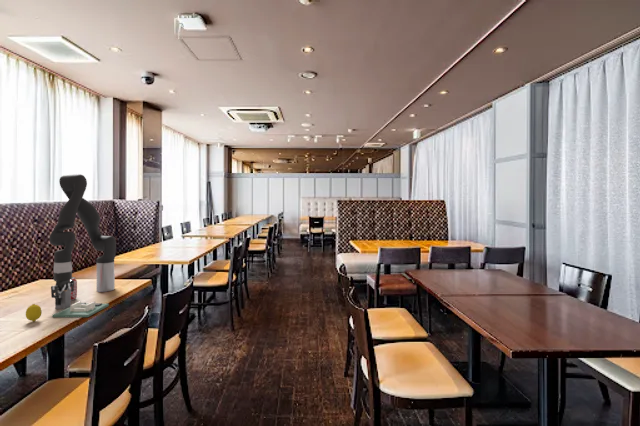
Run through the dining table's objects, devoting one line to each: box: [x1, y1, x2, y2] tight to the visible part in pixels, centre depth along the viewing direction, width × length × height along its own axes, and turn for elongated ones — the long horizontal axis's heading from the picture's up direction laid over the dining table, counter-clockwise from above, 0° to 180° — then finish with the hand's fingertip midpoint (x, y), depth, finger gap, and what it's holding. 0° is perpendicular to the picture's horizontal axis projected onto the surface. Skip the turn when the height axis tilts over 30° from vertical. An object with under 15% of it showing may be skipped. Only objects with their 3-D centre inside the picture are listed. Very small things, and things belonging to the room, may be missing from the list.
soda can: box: [71, 276, 78, 301], centre depth 191 cm, size 7×7×12 cm
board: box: [52, 300, 110, 318], centre depth 172 cm, size 18×16×4 cm
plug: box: [54, 289, 72, 310], centre depth 177 cm, size 4×5×9 cm
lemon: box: [25, 303, 43, 322], centre depth 156 cm, size 6×6×8 cm
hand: (63, 303), depth 177 cm, fingers open, 6 cm apart
